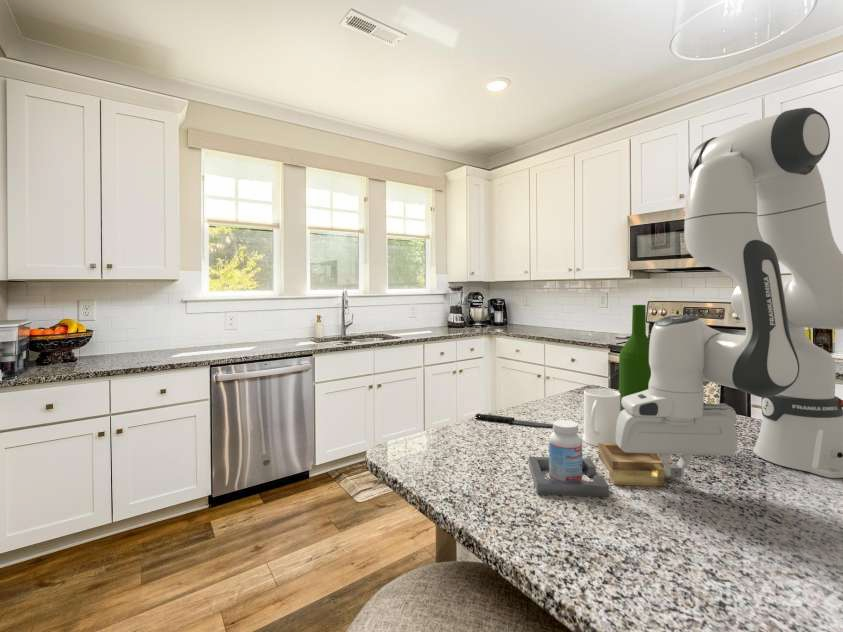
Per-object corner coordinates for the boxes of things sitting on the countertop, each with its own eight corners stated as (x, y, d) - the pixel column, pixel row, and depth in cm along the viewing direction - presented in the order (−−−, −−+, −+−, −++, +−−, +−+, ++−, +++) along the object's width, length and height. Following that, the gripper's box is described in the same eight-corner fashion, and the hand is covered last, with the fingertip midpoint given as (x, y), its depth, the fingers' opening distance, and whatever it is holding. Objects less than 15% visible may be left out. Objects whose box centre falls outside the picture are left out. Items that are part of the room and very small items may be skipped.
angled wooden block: (658, 480, 82) (658, 463, 81) (664, 486, 79) (664, 469, 79) (609, 478, 83) (609, 462, 82) (613, 484, 80) (613, 468, 80)
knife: (568, 422, 114) (565, 427, 110) (568, 428, 114) (565, 433, 110) (479, 411, 126) (473, 416, 121) (479, 417, 126) (473, 421, 121)
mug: (607, 454, 95) (608, 401, 94) (571, 445, 100) (570, 395, 100) (626, 440, 103) (626, 391, 102) (591, 432, 109) (591, 386, 108)
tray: (651, 457, 92) (651, 444, 92) (672, 478, 82) (672, 463, 82) (598, 456, 94) (598, 443, 93) (612, 476, 84) (612, 461, 84)
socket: (590, 467, 88) (590, 458, 88) (608, 496, 76) (608, 486, 75) (528, 466, 89) (528, 456, 89) (537, 494, 77) (537, 483, 77)
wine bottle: (652, 427, 112) (653, 304, 110) (662, 438, 104) (664, 305, 102) (615, 425, 115) (616, 304, 113) (622, 436, 106) (623, 305, 104)
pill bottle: (572, 490, 78) (572, 430, 78) (542, 480, 83) (542, 423, 82) (588, 480, 82) (588, 423, 82) (559, 470, 87) (559, 416, 86)
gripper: (725, 399, 81) (724, 470, 82) (612, 397, 83) (612, 466, 84) (746, 408, 74) (744, 485, 75) (623, 406, 77) (623, 480, 78)
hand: (673, 475), depth 80 cm, fingers closed
